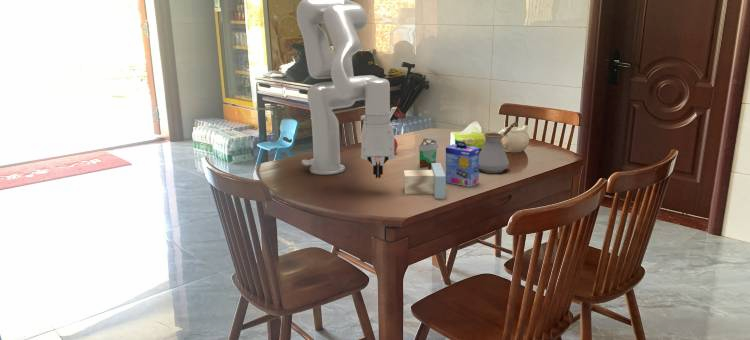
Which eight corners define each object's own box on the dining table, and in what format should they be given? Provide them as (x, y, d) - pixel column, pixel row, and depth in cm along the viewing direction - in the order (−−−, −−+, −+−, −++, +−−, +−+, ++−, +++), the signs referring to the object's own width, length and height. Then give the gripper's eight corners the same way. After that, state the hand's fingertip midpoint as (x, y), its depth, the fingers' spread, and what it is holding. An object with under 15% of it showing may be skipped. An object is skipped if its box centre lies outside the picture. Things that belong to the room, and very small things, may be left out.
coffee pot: (498, 176, 197) (499, 133, 193) (469, 171, 204) (470, 129, 200) (528, 164, 212) (530, 123, 208) (500, 159, 219) (502, 120, 216)
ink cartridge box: (444, 182, 191) (444, 139, 187) (453, 179, 195) (453, 136, 191) (470, 187, 185) (471, 143, 181) (479, 183, 189) (480, 140, 185)
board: (435, 198, 175) (435, 176, 173) (431, 183, 190) (431, 163, 189) (445, 198, 175) (445, 176, 173) (440, 183, 190) (440, 162, 188)
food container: (436, 173, 202) (436, 145, 200) (419, 173, 203) (419, 145, 201) (440, 164, 214) (440, 138, 211) (423, 164, 215) (423, 137, 212)
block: (405, 194, 180) (404, 176, 179) (404, 188, 187) (404, 170, 185) (433, 194, 180) (434, 175, 178) (432, 187, 187) (432, 169, 185)
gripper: (352, 122, 174) (353, 180, 179) (402, 121, 173) (402, 180, 179) (353, 117, 181) (354, 173, 186) (401, 116, 181) (401, 173, 186)
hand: (378, 176), depth 182 cm, fingers closed
